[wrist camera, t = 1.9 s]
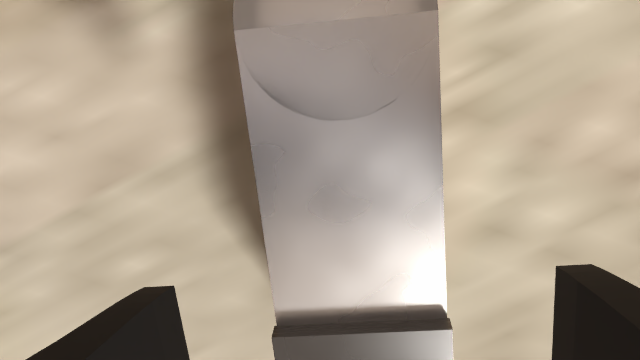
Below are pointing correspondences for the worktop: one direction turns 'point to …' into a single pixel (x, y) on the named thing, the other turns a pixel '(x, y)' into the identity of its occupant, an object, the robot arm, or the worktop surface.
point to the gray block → (348, 174)
